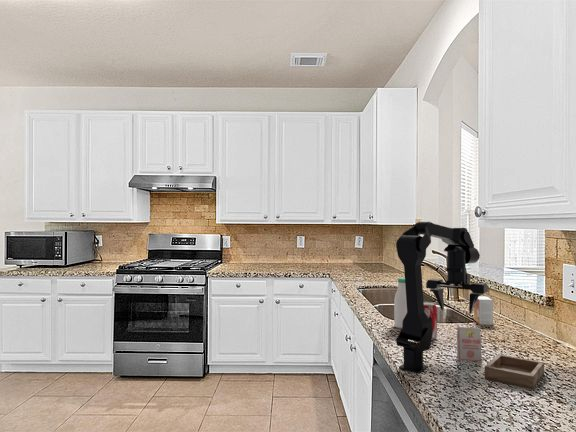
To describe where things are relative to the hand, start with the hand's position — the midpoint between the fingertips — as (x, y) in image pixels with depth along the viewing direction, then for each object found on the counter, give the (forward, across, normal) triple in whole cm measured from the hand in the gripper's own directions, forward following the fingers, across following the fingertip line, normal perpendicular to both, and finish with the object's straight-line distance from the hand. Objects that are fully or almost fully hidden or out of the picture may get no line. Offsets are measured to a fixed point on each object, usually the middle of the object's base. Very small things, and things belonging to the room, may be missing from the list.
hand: (456, 311), depth 145 cm
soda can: (+14, +14, -11) cm, 22 cm away
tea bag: (+14, -5, +5) cm, 15 cm away
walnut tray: (+14, -20, +13) cm, 28 cm away
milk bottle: (+13, +28, -21) cm, 37 cm away
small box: (+13, +4, -48) cm, 50 cm away
